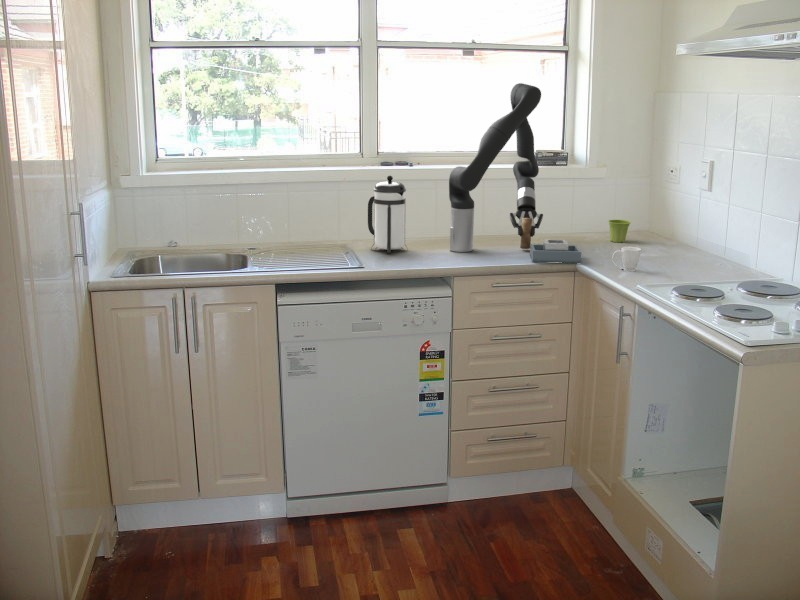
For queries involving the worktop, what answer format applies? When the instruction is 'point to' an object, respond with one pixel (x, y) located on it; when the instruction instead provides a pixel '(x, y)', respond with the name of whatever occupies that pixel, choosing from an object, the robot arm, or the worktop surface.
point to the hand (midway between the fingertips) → (526, 235)
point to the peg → (526, 233)
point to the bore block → (555, 245)
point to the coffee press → (388, 215)
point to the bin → (555, 254)
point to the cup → (629, 257)
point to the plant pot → (618, 230)
